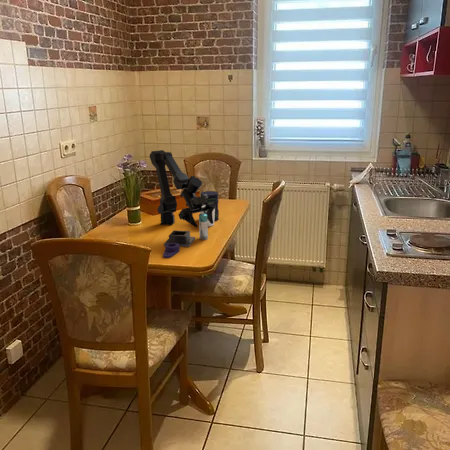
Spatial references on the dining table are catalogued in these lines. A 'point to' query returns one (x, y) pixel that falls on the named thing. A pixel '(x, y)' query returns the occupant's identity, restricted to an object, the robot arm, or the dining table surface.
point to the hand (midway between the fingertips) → (204, 225)
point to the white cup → (212, 216)
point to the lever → (171, 250)
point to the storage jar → (212, 201)
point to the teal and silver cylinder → (203, 226)
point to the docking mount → (180, 238)
